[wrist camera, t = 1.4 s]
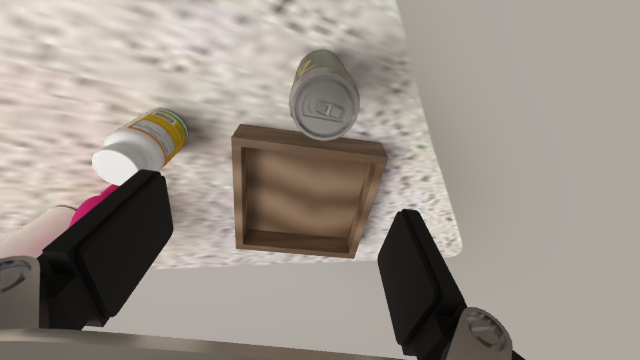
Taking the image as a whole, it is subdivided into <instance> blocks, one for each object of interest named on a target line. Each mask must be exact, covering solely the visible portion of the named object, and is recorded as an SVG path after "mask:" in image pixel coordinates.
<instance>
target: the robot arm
mask: <svg viewBox="0 0 640 360" xmlns="http://www.w3.org/2000/svg"><path fill="white" fill-rule="evenodd" d="M172 233H173V222H172V216H171V210H170V204H169V198H168V192H167V186H166V180H165V177H164V176H161V174H160V172H158V171H153V170H146V169H140V170H139V171H137V172H136V173H135V174H134V175H133V176H131V177H130V178H129V179H128V180H127V181H125V182H124V183H123V184H122V185H120V186H119V187H118V188H117V189H116V190H114V191H113V192H112V193H111V194H109V195H108V196H107V197H106V198H105V199H103V200H102V201H101V202H100V203H99V204H97V205H96V206H95V207H94V208H92V209H91V210H90V211H89V212H88V213H86V214H85V215H84V216H83V217H82V218H80V219H79V220H78V221H77V222H75V223H74V224H73V225H72V226H71V227H69V228H68V229H67V230H66V231H64V232H63V233H62V234H61V235H60V236H58V237H57V238H56V239H55V240H54V241H52V242H51V243H50V244H49V245H47V246H46V247H45V248H44V249H43V250H42V252H43V253H42V254H41V255H40V256H38V257H37V258H36V259H35V258H34V257H30V256H25V255H23V256H11V257H6V258H1V259H0V360H403V359H395V358H386V357H377V356H366V355H357V354H346V353H335V352H326V351H314V350H305V349H294V348H283V347H272V346H261V345H250V344H238V343H228V342H216V341H206V340H194V339H182V338H171V337H159V336H148V335H135V334H124V333H110V332H96V331H82V328H83V327H84V326H95V327H104V325H105V324H106V322H107V321H108V320H109V318H110V317H114V316H115V315H117V313H118V312H119V311H120V309H121V308H122V306H123V305H124V304H125V302H126V301H127V299H128V298H129V296H130V295H131V293H132V292H133V291H134V289H135V288H136V286H137V285H138V283H139V282H140V281H141V279H142V278H143V276H144V275H145V273H146V272H147V270H148V269H149V268H150V266H151V265H152V263H153V262H154V260H155V259H156V257H157V256H158V255H159V253H160V252H161V250H162V249H163V247H164V246H165V244H166V243H167V242H168V240H169V239H170V237H171V236H172ZM378 266H379V270H380V274H381V279H382V283H383V287H384V291H385V295H386V299H387V304H388V308H389V311H390V316H391V320H392V325H393V329H394V333H395V337H396V341H397V343H398V344H399V345H401V346H402V350H403V354H404V355H409V356H417V359H418V360H525V359H524V358H522V357H521V356H520V355H518V354H517V353H516V352H515V351H513V350H512V349H513V347H512V340H511V338H510V336H509V333H508V332H507V330H506V329H505V328H504V326H503V325H502V324H501V323H500V322H499V321H498V320H497V319H496V318H495V317H494V316H492V315H491V314H490V313H488V312H486V311H484V310H482V309H479V308H476V307H467V305H466V303H465V301H464V298H463V296H462V294H461V292H460V290H459V288H458V286H457V284H456V283H455V281H454V279H453V277H452V275H451V273H450V271H449V269H448V267H447V265H446V264H445V261H444V259H443V257H442V255H441V254H440V252H439V250H438V248H437V246H436V244H435V242H434V240H433V238H432V236H431V234H430V232H429V230H428V229H427V227H426V225H425V223H424V221H423V219H422V217H421V215H420V213H419V212H418V211H416V210H410V209H403V210H402V211H401V212H400V211H399V212H397V214H396V216H395V219H394V221H393V223H392V225H391V227H390V230H389V232H388V234H387V236H386V239H385V241H384V243H383V245H382V248H381V250H380V252H379V254H378Z"/></svg>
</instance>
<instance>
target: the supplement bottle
mask: <svg viewBox="0 0 640 360" xmlns="http://www.w3.org/2000/svg"><path fill="white" fill-rule="evenodd" d="M187 140H188V131H187V128H186V126H185V124H184V122H183V121H182V120H181V119H180V118H179V117H178V116H177V115H175V114H174V113H172V112H170V111H167V110H164V109H153V110H150V111H148V112H146V113H144V114H143V115H141V116H139V117H138V118H136V119H134V120H133V121H131V122H129V123H128V124H126V125H124V126H122V127H121V128H119V129H117V130H116V131H114V132H113V133H111V134H110V135H109V136H108V137H107V138H106V140H105V143H104V147H103V148H102V149H100V150H99V151H98V152H96V153H95V154H94V156H93V158H92V165H93V168H94V169H95V171H96V172H97V174H98V175H99V176H100V177H101V178H103V179H104V180H106V181H107V182H109V183H111V184H114V185H118V186H120V185H122V184H123V183H124V182H125V181H127V180H128V179H129V178H130V177H131V176H133V175H134V174H135V173H136V172H137V171H139V170H140V169H146V170H153V171H158V172H159V171H160V170H161V169H162V168H163V167H164V166H165V165H166V164H167V163H168V162H169V161H170V160H171V159H172V158H173V157H174V156H175V155H176V154H177V153H178V152H179V151H180V150H181V149H182V148H183V146H184V145H185V144H186V142H187Z"/></svg>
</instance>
